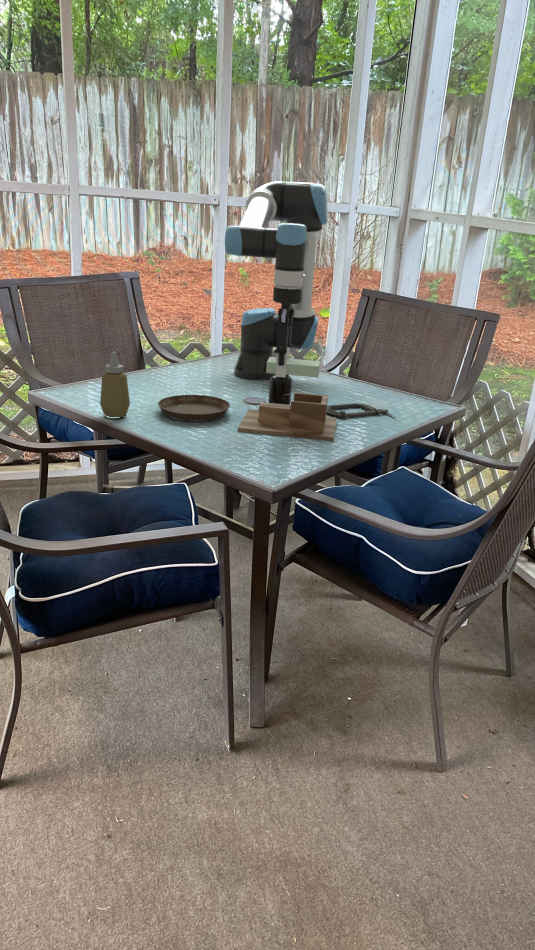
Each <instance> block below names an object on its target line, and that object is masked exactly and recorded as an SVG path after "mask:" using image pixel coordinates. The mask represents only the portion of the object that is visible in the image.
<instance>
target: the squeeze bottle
mask: <svg viewBox="0 0 535 950" xmlns="http://www.w3.org/2000/svg"><path fill="white" fill-rule="evenodd" d="M104 367H105V369H104V370H105V372H103V374H102V375H101V387H100V400H99V401H100V402H99V405H100V408H101V410H102V412H103V415H104V414H105V415H106V416H109V417H124V416H127V415H128V411H129V407H130V404H131V400H130V391H129V386H128V385H129V384H128V383H129V382H128V376H127V374H126V373H125V372H124V366H123V365H122V364H120V361H119V359H118V355H117V352H116V351H111V352H110V359H109V364H108V363H107V364H106V365H105V366H104ZM126 414H127V415H126ZM124 418H125V417H124Z"/></svg>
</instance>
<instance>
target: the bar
mask: <svg viewBox="0 0 535 950" xmlns="http://www.w3.org/2000/svg"><path fill="white" fill-rule="evenodd" d="M276 360H277V356H276V357H275V356H273V357H269V359H268V361H267V368H266V373H274V374H276ZM320 367H321V361H318V360H309V359H308V360H307V359H297V358H289V359H287V365H286V375H289V376H295V377H306V378H307V377H309V378H317V379H318V378H319V374H320V370H321V369H320Z"/></svg>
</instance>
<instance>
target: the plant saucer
mask: <svg viewBox="0 0 535 950" xmlns="http://www.w3.org/2000/svg"><path fill="white" fill-rule="evenodd" d="M180 405H181V406H180ZM157 406H158V408H159V409H160V410H161V411H162V412H163V413H164V415H165V416H167V417H168V418H170V417H171V419H173V418H174V420H176V419H177V421H181V420H182V421H183V422H189V421H192V422H193V423H199V422H201V421H203V422H211V421H214V420H217V419H220V418H221V417H222V416H223V415H225V414H226V413H227V412H228V410H229V409H230V407H231V404H230V402H228V400H225V399H224V398H221V397H216V396H211V395H204V394H180V395H179V394H178V395H172V396H168V397H163V398H161V399H160V400H159V401H158V402H157ZM210 420H211V421H210ZM201 423H202V422H201Z"/></svg>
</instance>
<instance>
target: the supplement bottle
mask: <svg viewBox="0 0 535 950" xmlns="http://www.w3.org/2000/svg"><path fill="white" fill-rule="evenodd" d="M275 375H276V374H274V375H273V376H271V378H270V379H269V388H268V389H269V390H268V402H267V403H274V404H284V405H291V401H292V389H293V379H292V377H291V375H286V377H275Z"/></svg>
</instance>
